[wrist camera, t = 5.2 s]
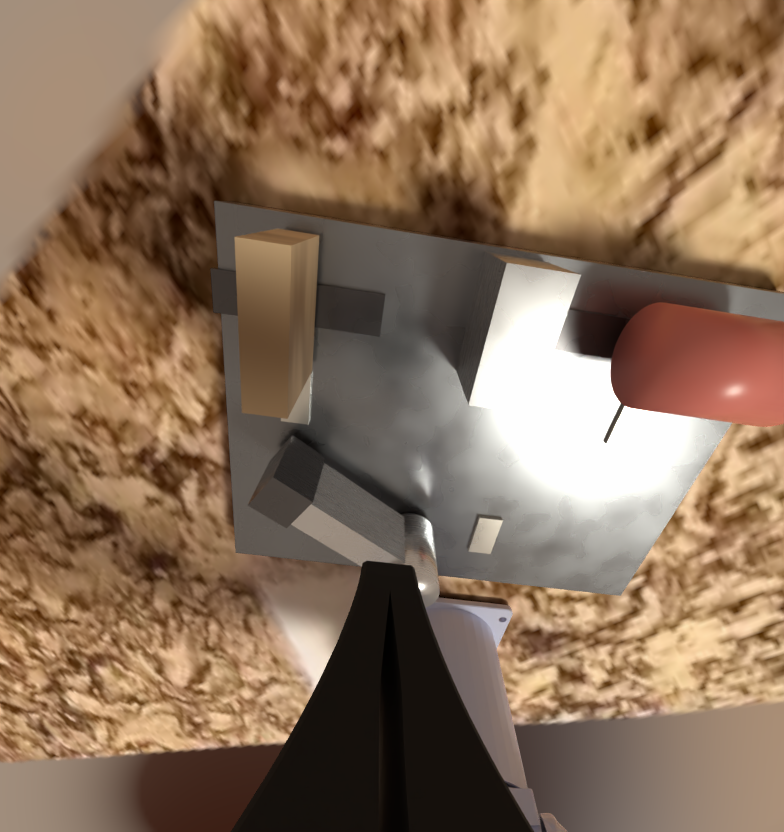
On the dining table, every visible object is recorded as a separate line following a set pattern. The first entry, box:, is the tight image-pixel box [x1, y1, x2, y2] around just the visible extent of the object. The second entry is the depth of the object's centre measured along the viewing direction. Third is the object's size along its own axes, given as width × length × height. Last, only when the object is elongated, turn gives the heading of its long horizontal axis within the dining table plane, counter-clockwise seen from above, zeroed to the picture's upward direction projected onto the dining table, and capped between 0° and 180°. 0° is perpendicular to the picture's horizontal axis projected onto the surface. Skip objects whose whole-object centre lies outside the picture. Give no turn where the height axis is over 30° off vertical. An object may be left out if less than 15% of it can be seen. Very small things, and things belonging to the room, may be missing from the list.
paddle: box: [235, 229, 319, 419], centre depth 13 cm, size 5×1×4 cm, turn 172°
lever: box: [248, 435, 440, 608], centre depth 17 cm, size 9×2×4 cm, turn 49°
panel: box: [210, 201, 784, 596], centre depth 17 cm, size 17×22×5 cm
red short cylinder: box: [610, 302, 784, 427], centre depth 13 cm, size 4×5×4 cm
